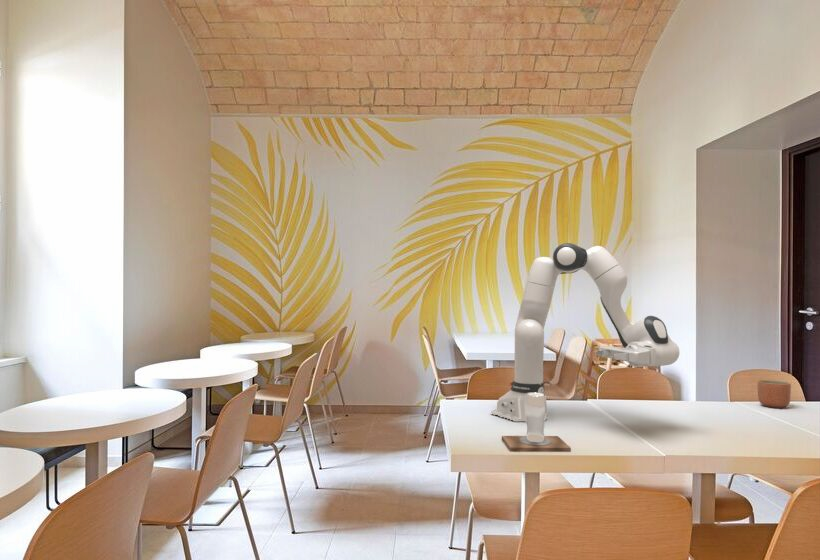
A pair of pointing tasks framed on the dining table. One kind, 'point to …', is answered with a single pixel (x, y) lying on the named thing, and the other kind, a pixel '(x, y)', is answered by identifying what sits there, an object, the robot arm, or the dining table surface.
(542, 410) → the beer glass
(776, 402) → the planter
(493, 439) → the dining table surface
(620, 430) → the dining table surface
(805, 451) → the dining table surface
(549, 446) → the walnut board
